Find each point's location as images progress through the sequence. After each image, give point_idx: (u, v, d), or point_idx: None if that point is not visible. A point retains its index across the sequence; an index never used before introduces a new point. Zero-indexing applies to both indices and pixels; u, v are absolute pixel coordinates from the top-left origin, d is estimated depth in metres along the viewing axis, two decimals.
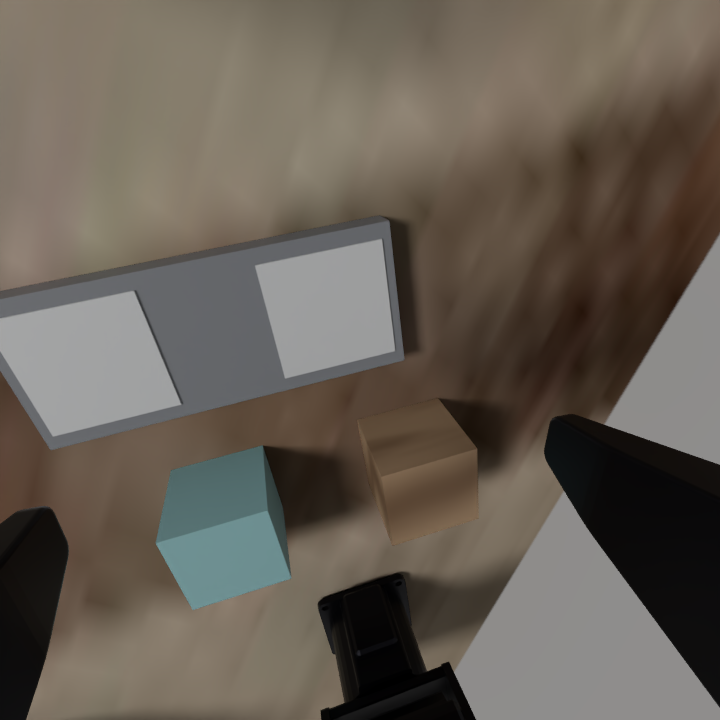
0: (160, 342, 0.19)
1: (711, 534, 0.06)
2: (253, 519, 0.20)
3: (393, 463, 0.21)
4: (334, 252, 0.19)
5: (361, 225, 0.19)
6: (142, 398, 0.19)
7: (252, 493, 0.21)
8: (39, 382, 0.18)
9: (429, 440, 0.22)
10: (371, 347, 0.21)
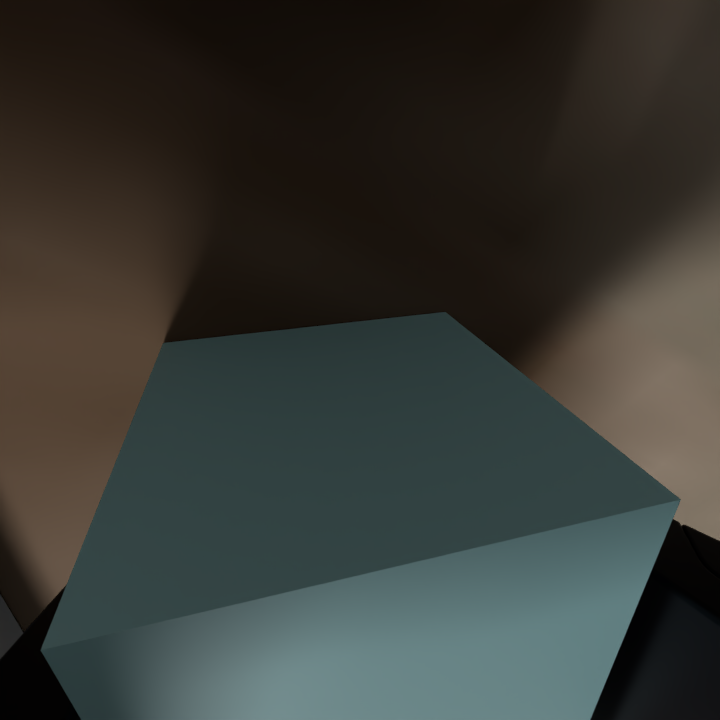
0: None
1: None
2: (121, 697, 0.03)
3: None
4: None
5: None
6: None
7: None
8: None
9: None
10: None
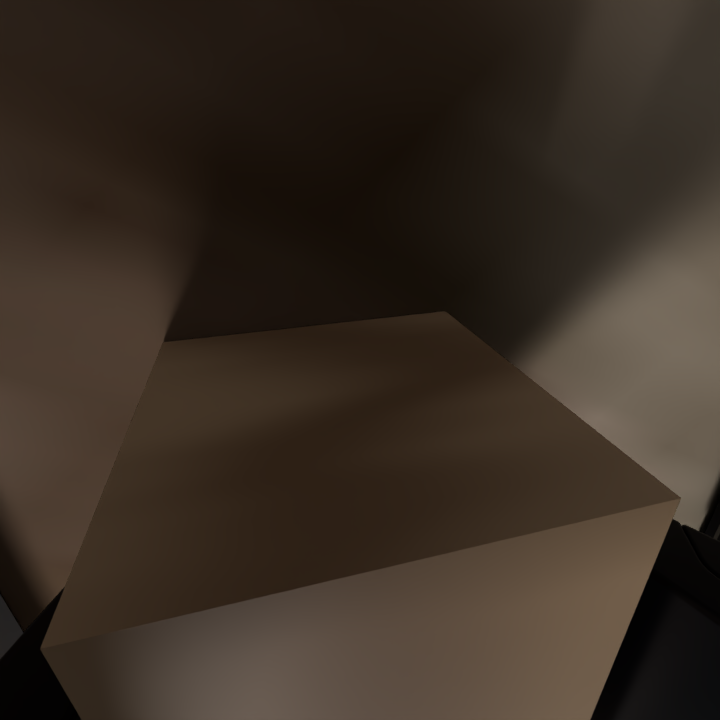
0: None
1: None
2: None
3: None
4: None
5: None
6: None
7: None
8: None
9: None
10: None
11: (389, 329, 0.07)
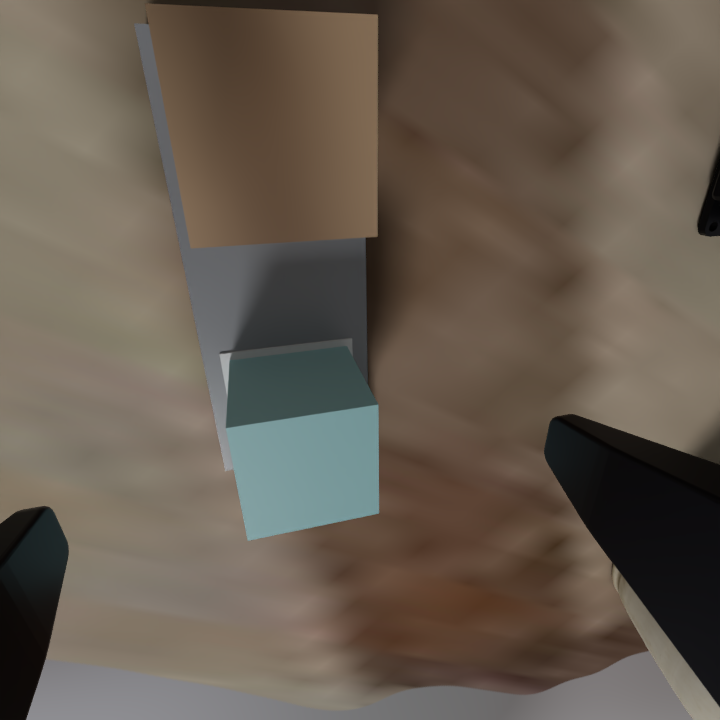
0: (278, 342, 0.18)
1: (711, 534, 0.06)
2: (239, 444, 0.14)
3: None
4: None
5: (145, 73, 0.14)
6: None
7: None
8: None
9: None
10: None
11: None
